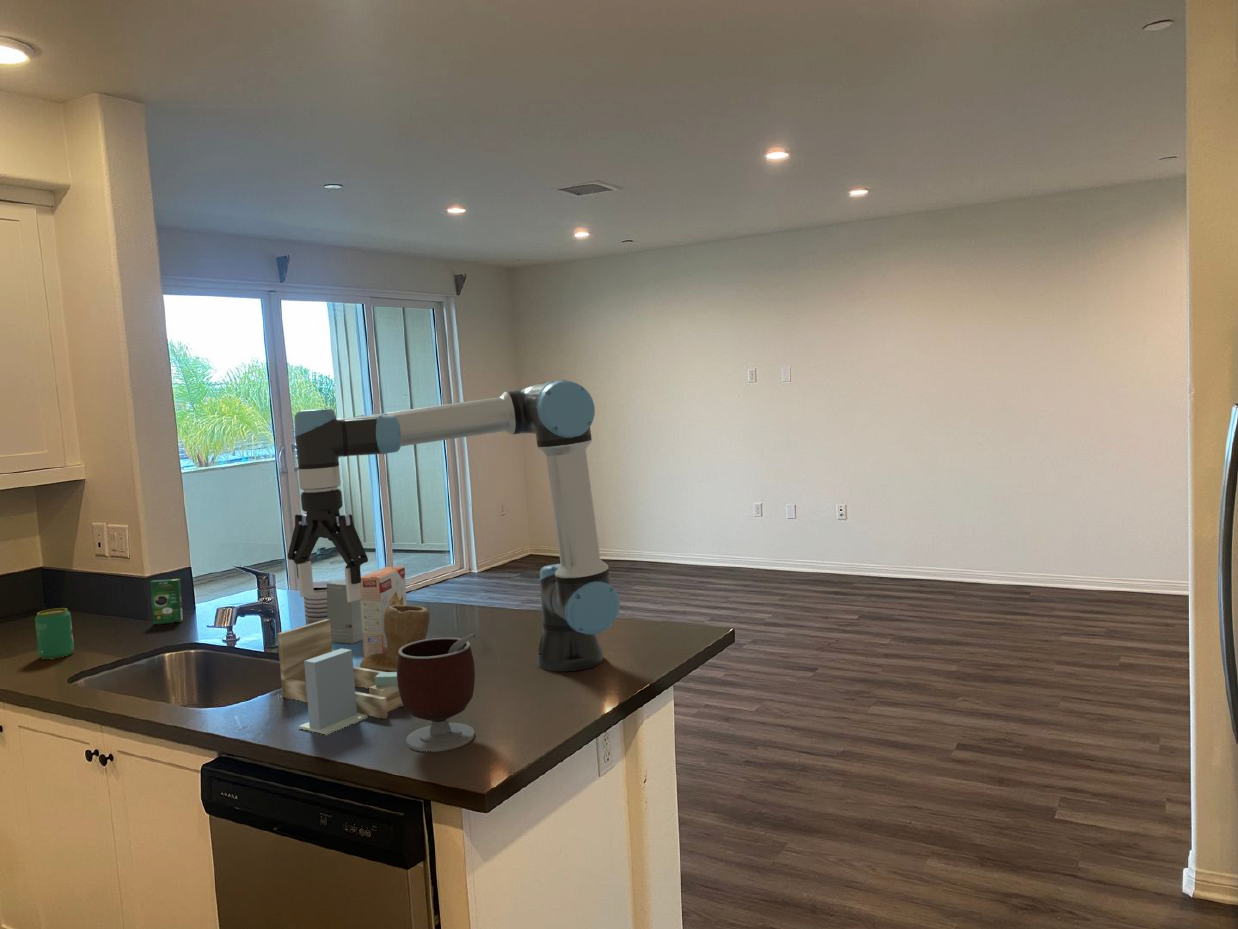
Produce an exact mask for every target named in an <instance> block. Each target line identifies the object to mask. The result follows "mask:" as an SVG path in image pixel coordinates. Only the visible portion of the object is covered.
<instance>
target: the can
mask: <svg viewBox="0 0 1238 929" xmlns="http://www.w3.org/2000/svg"><path fill="white" fill-rule="evenodd" d="M332 581H333V580H330V581H329V580H327V581H324V580H323V581H320V580H319V581H313V589H314V594H312V595H308V596H305V597H303V604H304V616H305V625H308V624H311V623H315V622H318V621H322V620H325V619H327V583H328V582H332Z"/></svg>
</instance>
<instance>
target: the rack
mask: <svg viewBox="0 0 1238 929" xmlns="http://www.w3.org/2000/svg"><path fill="white" fill-rule="evenodd" d="M276 634H277V645H278V646H277V647H278V658H279V659H278V660H279V667H280V668H279V669H280V680H281V681H280V682H281V691H282V693H281V694H282V698H283V697H285V699H288V700H293V699H296V700H295V701H297V700H300V701H299V702H302V701H303V702H304V703H307V702H308V701H307V689H306V677H305V665H304V661H305V660H308V659H311V658H314V657H317V656H320V655H323V654H326V653H329V652H332V651H333V642H332V638H331V625H330V619H325V620H322V621H318V622H315V623H311V624H308V625H306V624H305V625H302V626H298V627H295V628H291V629H288V630H284V631H281V632H278V633H276ZM353 670H354V683H355V687H357V688H358V687H359V688H363V687H364V688H363V689H368V688H369V687H372V686H375V685H376V683H375V677H376V676H377V675H378V674H379V673H380V672H384V671H379V670H372V669H366V668H361V667H360V666H359V667H358V666H354V665H353ZM355 696H356V709H357V713H360V714H365V715H369V716H368V717H372V716H373V717H372V718H377V719H381V718H385V719H387V718H388V717H389V716H388V713H387V701H386V697H381V696H376V695H370V693H365V692H359V691H355Z"/></svg>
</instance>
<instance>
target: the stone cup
mask: <svg viewBox="0 0 1238 929" xmlns="http://www.w3.org/2000/svg"><path fill="white" fill-rule="evenodd" d="M430 617H431V616H430V612H429V610H428V609H427V608H426V607H423V606H419V605H417V606H416V605H408V604H407V605H403V606H402V605H393V606H389V607H388V608H387V610H386V612H385V614H384V629H385V635H386V640H387V645H388V650H387V651H386V652H385V653H379V654H373V655H370V656H368V657H366V658H365V659H364V658H363V659H362V660H361V662H360V663H359V667H360V668H365V669H371V670H377V671H383V672H397V661H398V655H399V653H398V651H399V649H400V648H401V647H403V646H404V645H407V644H409V643H412V642H416V641H420V640H426V638H427V634H428V631H429V630H428V629H429V624H430Z"/></svg>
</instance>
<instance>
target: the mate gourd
mask: <svg viewBox="0 0 1238 929" xmlns="http://www.w3.org/2000/svg"><path fill="white" fill-rule="evenodd" d="M475 638H476V633H471V634H468V635H467V636H465V637H463V638H460V637H435V638H434V637H433V638H427V639H426V638H425V640H420V641H416V642H412V643H409V644H407V645H404V646H403V647H401V648H400V649H399V651H398V653H399V655H398V661H397V683H398V689H399V693H400V697H401V700H402V703H403V706H402V707H404V708H405V709H406V710H407V711H408V712H409V713H410V715H411V716H412V717H414V718H416V719H420V720H421V719H422V720H424V721H425V720H426V721H431V724H429V725H426V726H423V727H419V728H418V729H414V730H413V731H412V732H410V733H409V734H408V735H407V737H406V741H405V742H406V746H407V747H408V748H409V749H411V748H412V749H411V750H413V749H414V750H413V751H416V752H417V750H418V752H423V751H424V752H425V751H426V752H425V753H430V751H431V753H434V752H444V751H449V750H453V749H457V748H460V747H462V746H464V745H467V744H468V743H470V742H471V741H472V740H473V739H474V738H475V730H474V727H472V726H471V725H468V724H466V723H465V724H464V723H460V722H448V719H450V718H452V717H454V716H456V715H459V714H460V713H462V712H463V711H465V710H466V708H467V707H468V704H470V701H471V700H472V699H473V697H474V696H473V695H474V691H475V683H476V682H475V680H476V669H475V668H476V667H475V661H474V656H473V651H472V648H471V643H470V642H469V640H471V639H475ZM428 751H429V752H428Z"/></svg>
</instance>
